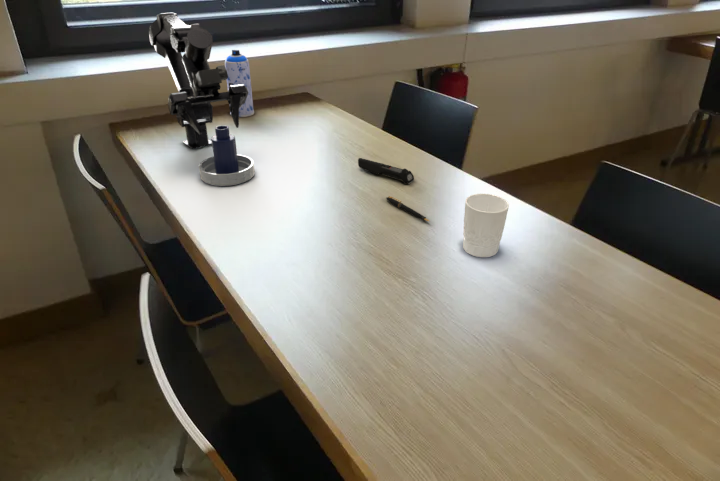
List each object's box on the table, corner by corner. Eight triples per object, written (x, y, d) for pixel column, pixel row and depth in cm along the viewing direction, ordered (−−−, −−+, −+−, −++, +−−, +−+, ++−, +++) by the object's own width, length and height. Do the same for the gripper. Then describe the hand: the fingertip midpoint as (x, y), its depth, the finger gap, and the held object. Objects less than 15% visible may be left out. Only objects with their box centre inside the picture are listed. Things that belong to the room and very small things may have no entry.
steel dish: (191, 174, 132) (189, 162, 131) (237, 161, 140) (236, 150, 138) (216, 191, 124) (215, 179, 122) (264, 177, 131) (263, 165, 130)
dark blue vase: (217, 170, 134) (210, 124, 128) (239, 169, 134) (234, 123, 128) (215, 179, 129) (208, 131, 123) (238, 178, 130) (233, 130, 124)
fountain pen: (432, 223, 112) (432, 217, 111) (428, 225, 111) (428, 219, 111) (387, 199, 122) (388, 193, 121) (383, 200, 121) (384, 194, 120)
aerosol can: (226, 116, 172) (218, 52, 162) (235, 109, 179) (228, 47, 169) (249, 117, 171) (243, 53, 161) (257, 110, 178) (252, 48, 168)
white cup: (503, 242, 106) (510, 197, 101) (498, 262, 99) (506, 215, 94) (463, 235, 108) (469, 190, 103) (456, 255, 101) (462, 208, 96)
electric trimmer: (363, 166, 138) (363, 154, 137) (415, 180, 131) (415, 168, 129) (354, 171, 136) (354, 159, 134) (407, 185, 128) (407, 173, 126)
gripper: (162, 58, 119) (183, 119, 117) (241, 50, 127) (263, 107, 125) (159, 85, 129) (179, 142, 127) (234, 76, 137) (253, 130, 135)
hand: (219, 130), depth 128 cm, fingers open, 9 cm apart
